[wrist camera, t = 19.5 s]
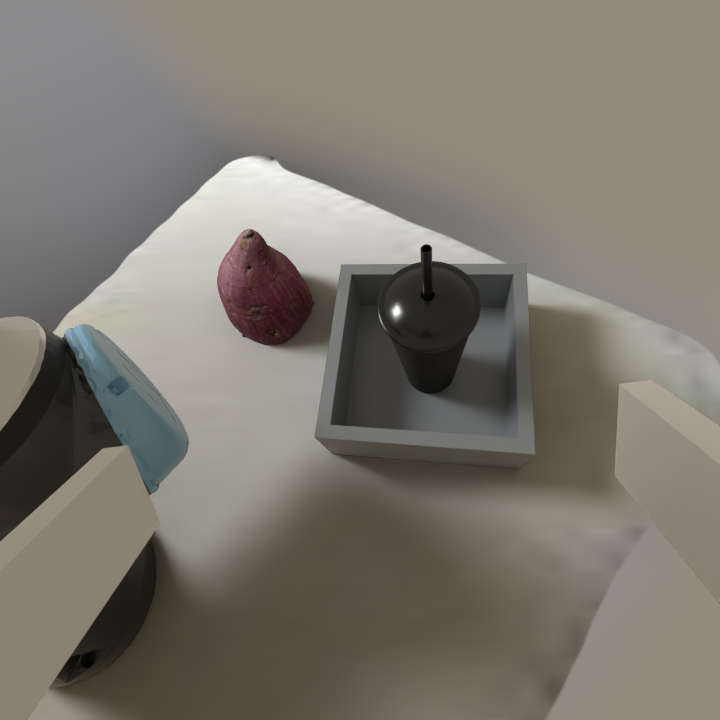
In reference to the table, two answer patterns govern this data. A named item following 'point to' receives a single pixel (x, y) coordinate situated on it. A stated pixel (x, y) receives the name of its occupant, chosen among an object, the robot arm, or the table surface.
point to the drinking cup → (429, 319)
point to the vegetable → (262, 291)
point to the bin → (439, 410)
